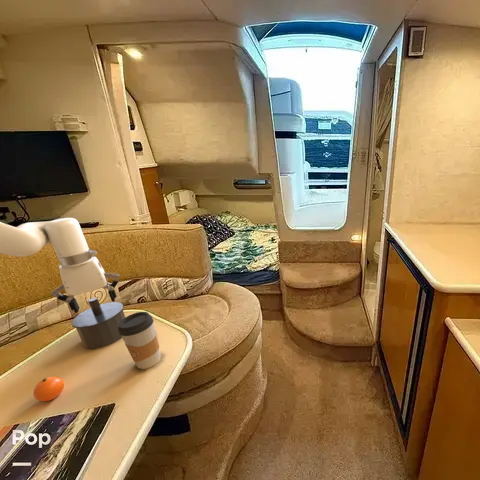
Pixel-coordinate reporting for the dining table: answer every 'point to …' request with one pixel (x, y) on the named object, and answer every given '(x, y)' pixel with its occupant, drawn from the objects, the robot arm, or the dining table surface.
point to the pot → (101, 333)
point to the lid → (97, 314)
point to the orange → (48, 388)
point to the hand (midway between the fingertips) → (96, 305)
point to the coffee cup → (140, 339)
